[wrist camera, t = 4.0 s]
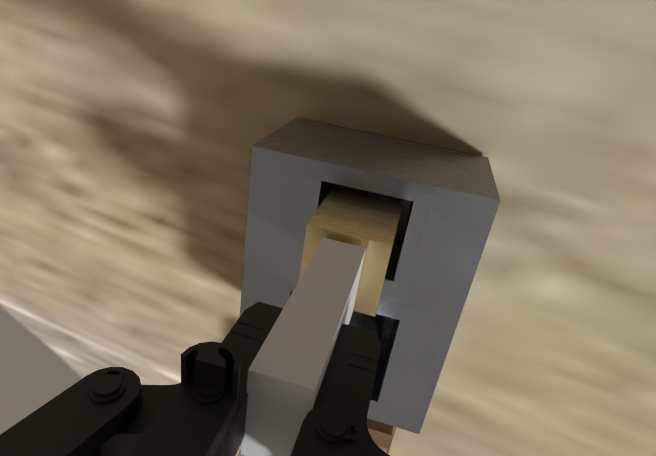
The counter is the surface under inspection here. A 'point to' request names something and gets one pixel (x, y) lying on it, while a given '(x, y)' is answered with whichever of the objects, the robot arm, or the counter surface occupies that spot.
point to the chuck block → (407, 252)
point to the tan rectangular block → (357, 235)
